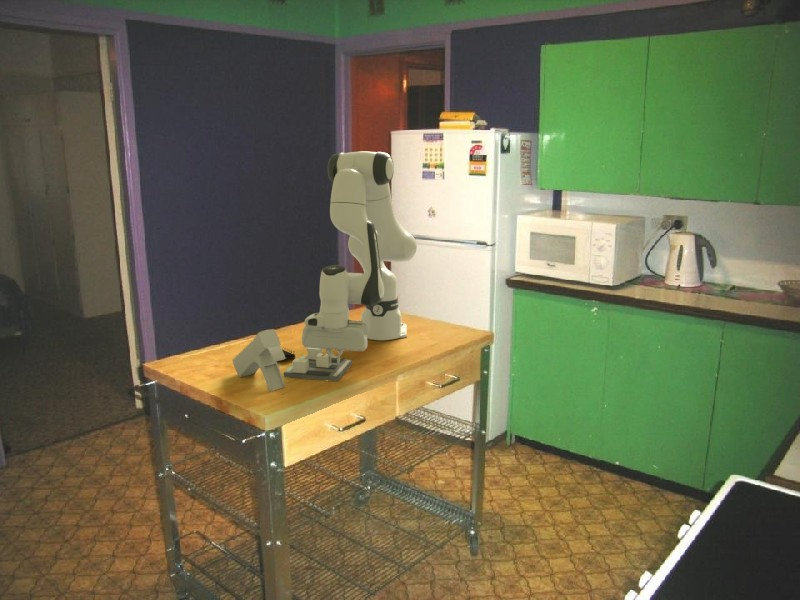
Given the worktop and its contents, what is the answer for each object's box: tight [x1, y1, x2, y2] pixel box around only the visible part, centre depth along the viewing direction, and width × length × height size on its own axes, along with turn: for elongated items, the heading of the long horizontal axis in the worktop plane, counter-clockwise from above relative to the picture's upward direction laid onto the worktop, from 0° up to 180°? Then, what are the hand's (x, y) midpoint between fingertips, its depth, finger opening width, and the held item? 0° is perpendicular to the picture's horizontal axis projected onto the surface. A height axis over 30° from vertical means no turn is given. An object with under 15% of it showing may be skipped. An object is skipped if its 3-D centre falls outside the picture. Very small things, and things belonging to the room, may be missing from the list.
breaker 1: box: [292, 357, 309, 373], centre depth 202 cm, size 3×4×4 cm
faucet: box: [232, 328, 286, 392], centre depth 196 cm, size 6×16×20 cm
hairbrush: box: [281, 346, 296, 360], centre depth 225 cm, size 8×4×25 cm
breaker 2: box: [306, 347, 323, 360], centre depth 214 cm, size 3×4×4 cm
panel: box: [283, 355, 353, 382], centre depth 208 cm, size 17×17×2 cm
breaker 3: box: [316, 352, 332, 368], centre depth 207 cm, size 3×4×4 cm
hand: (335, 362), depth 206 cm, fingers closed
